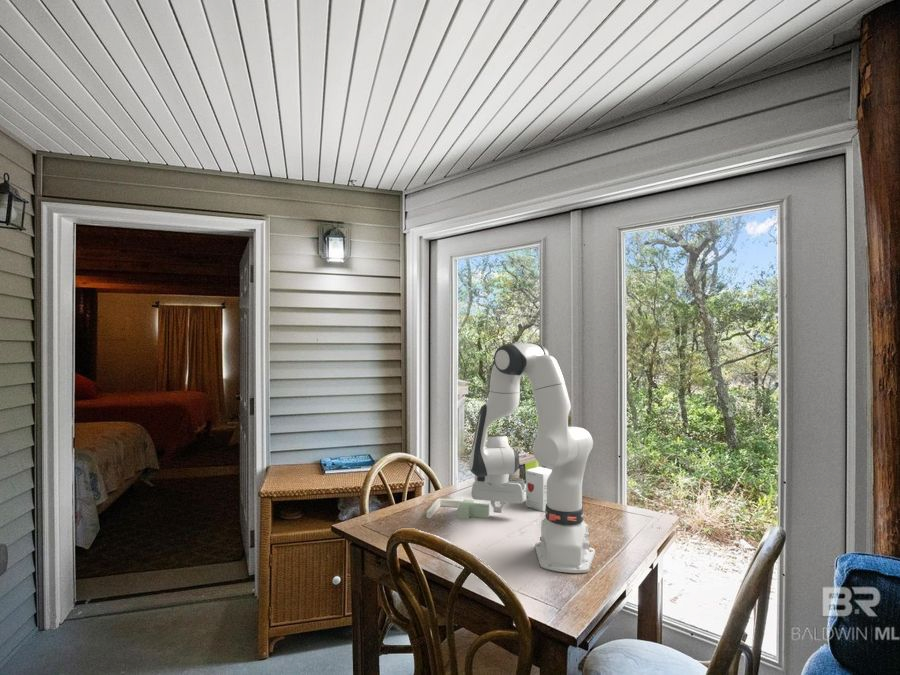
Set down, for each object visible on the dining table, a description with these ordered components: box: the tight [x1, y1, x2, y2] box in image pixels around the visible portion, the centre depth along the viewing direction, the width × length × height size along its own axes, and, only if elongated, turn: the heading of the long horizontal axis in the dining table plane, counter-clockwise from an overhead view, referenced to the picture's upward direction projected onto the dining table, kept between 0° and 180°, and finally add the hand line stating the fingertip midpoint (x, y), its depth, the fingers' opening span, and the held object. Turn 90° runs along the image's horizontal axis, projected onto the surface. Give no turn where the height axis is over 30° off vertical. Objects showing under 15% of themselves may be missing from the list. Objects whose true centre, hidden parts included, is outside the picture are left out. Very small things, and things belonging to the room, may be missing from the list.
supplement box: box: [525, 466, 552, 512], centre depth 191 cm, size 9×9×15 cm
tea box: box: [518, 452, 540, 492], centre depth 217 cm, size 15×10×15 cm
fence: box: [426, 498, 464, 519], centre depth 185 cm, size 16×12×2 cm
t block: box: [457, 499, 490, 520], centre depth 182 cm, size 10×11×4 cm
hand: (497, 512), depth 180 cm, fingers closed
